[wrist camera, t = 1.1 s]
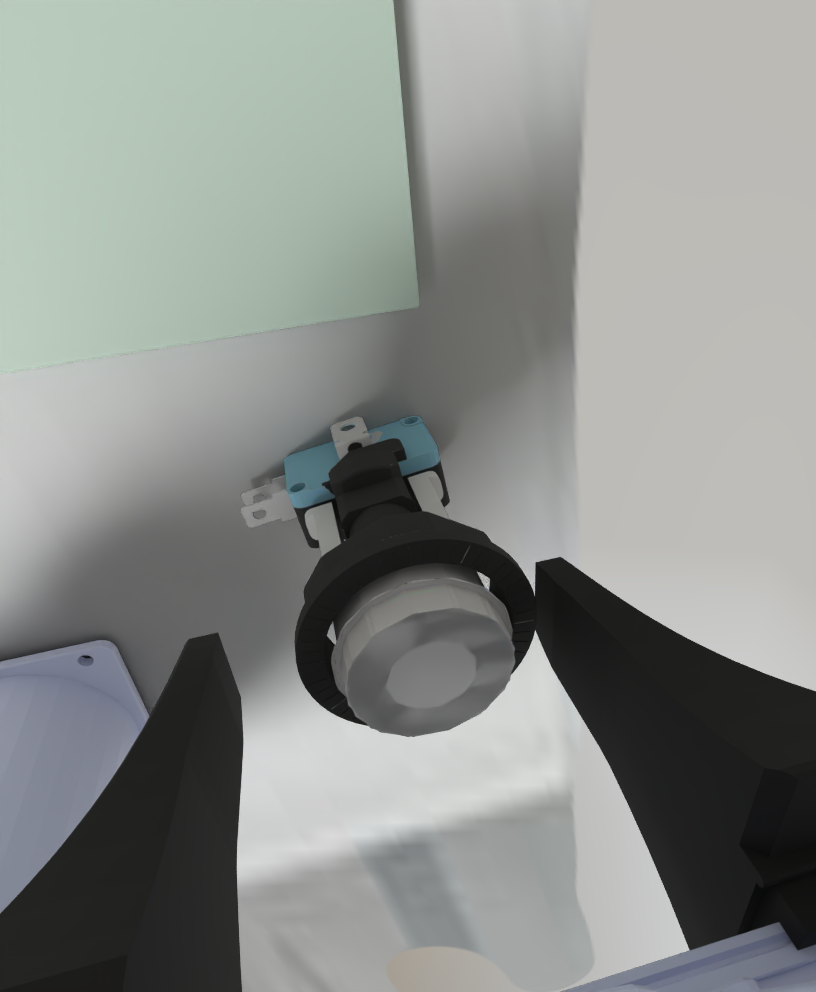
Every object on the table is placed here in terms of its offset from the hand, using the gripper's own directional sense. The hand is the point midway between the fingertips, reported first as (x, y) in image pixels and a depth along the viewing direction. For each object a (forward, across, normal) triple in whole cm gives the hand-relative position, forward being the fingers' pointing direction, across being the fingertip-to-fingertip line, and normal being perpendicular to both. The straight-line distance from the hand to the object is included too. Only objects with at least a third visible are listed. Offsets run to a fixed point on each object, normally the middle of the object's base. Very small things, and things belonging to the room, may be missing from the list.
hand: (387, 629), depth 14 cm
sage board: (+8, +3, -11) cm, 14 cm away
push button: (+8, 0, 0) cm, 9 cm away
